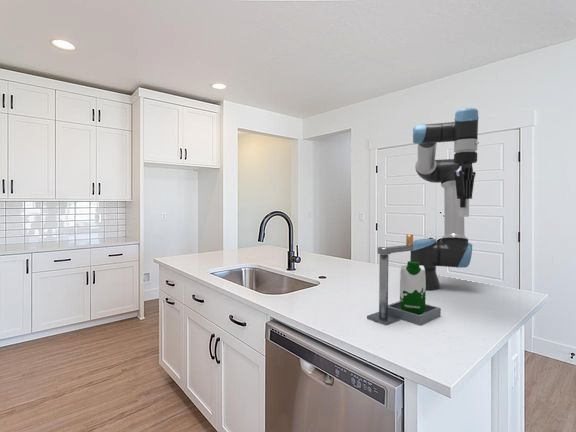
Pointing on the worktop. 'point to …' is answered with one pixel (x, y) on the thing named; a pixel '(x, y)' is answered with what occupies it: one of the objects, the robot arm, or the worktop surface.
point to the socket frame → (428, 314)
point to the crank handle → (398, 247)
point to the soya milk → (413, 288)
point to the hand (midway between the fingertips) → (464, 216)
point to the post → (383, 295)
